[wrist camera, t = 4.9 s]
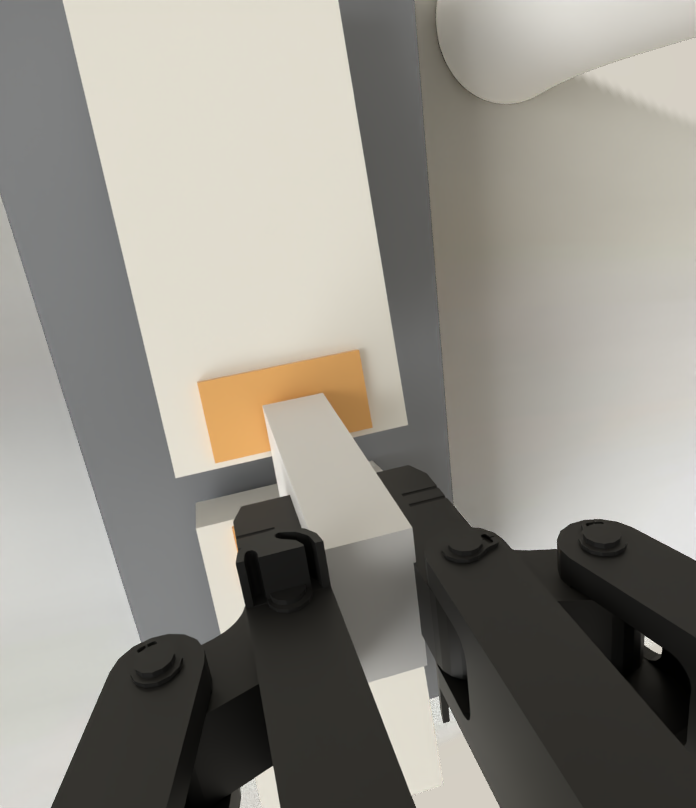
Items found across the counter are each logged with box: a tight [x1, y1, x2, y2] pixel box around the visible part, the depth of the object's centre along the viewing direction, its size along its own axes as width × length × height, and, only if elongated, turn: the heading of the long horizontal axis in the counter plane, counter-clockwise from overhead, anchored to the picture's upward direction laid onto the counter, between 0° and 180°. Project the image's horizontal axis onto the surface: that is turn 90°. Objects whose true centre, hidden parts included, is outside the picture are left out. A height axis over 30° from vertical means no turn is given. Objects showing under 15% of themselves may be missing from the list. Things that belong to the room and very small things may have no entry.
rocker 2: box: [196, 461, 444, 808], centre depth 22 cm, size 6×11×3 cm, turn 7°
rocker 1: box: [63, 0, 408, 478], centre depth 17 cm, size 6×11×3 cm, turn 7°
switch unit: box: [0, 0, 453, 699], centre depth 24 cm, size 12×27×7 cm, turn 7°
